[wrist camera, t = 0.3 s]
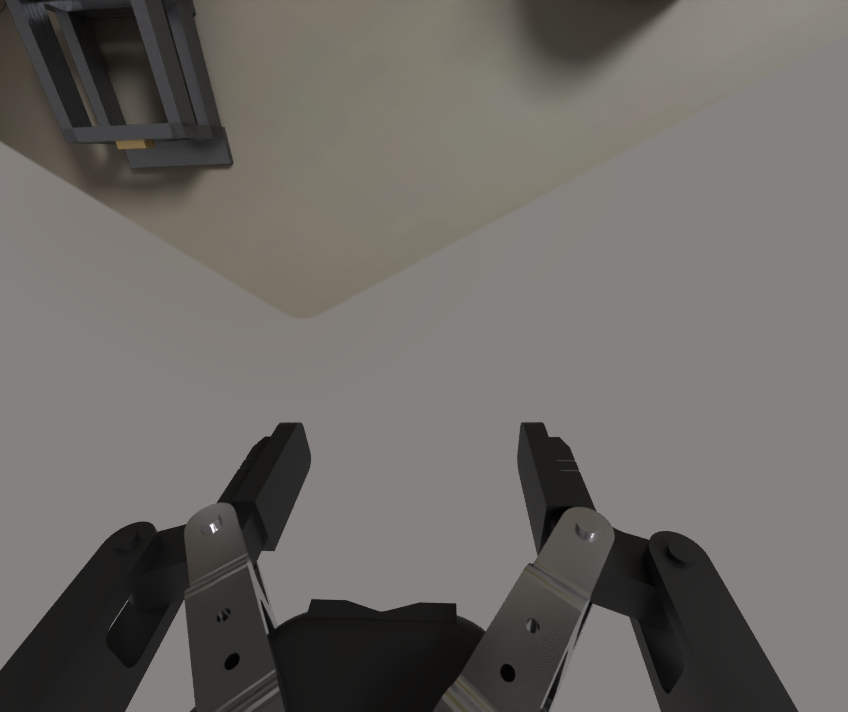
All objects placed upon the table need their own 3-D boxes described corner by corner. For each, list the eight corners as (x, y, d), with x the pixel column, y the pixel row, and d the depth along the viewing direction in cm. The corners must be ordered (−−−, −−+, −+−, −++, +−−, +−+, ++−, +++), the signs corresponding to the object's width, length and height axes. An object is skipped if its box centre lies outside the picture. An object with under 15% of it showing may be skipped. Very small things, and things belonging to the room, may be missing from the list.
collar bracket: (64, -27, 30) (-25, -69, 24) (183, -37, 29) (119, -82, 24) (135, 167, 37) (78, 170, 31) (233, 163, 36) (193, 165, 30)
